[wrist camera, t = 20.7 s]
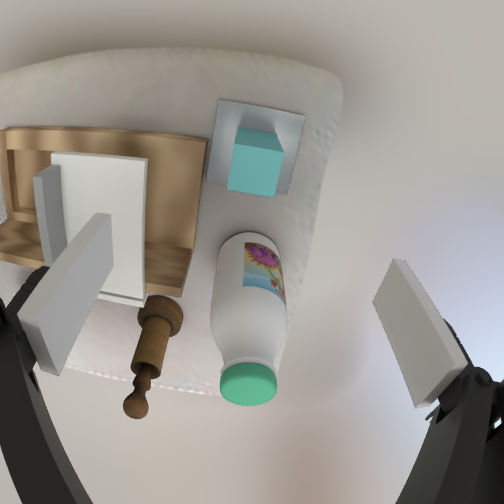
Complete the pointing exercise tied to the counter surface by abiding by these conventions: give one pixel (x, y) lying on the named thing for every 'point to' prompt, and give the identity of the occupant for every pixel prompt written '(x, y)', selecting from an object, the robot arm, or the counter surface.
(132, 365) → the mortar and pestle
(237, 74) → the counter surface
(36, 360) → the robot arm
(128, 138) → the brown piece
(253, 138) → the block
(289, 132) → the coaster
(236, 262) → the milk bottle
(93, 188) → the lid
